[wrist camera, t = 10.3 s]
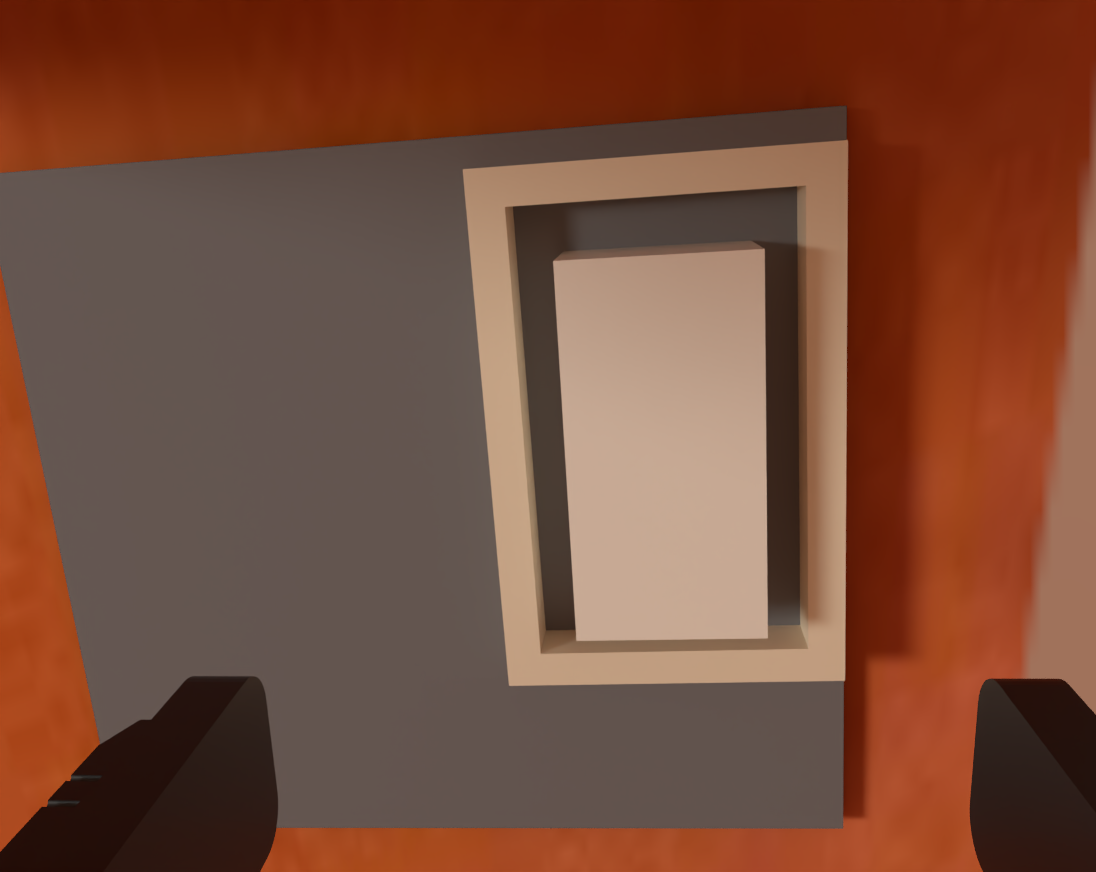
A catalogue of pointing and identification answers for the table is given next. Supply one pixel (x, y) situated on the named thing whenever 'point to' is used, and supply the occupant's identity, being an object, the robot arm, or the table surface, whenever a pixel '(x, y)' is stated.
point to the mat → (428, 465)
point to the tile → (665, 439)
